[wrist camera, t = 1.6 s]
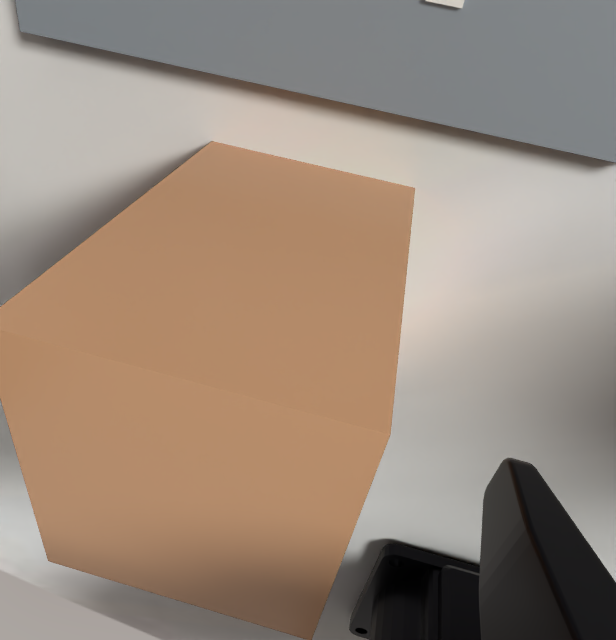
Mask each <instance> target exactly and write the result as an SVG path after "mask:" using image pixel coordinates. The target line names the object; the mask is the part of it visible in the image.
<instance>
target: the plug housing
mask: <svg viewBox="0 0 616 640" xmlns="http://www.w3.org/2000/svg"><path fill="white" fill-rule="evenodd" d="M414 194H415V188H413V187H408V186H404V185H400V184H395V183H391V182H387V181H382V180H378V179H374V178H369V177H365V176H361V175H356V174H352V173H348V172H343V171H339V170H335V169H330V168H326V167H322V166H317V165H313V164H309V163H304V162H300V161H296V160H291V159H287V158H282V157H278V156H274V155H269V154H265V153H261V152H256V151H252V150H248V149H243V148H239V147H235V146H230V145H226V144H222V143H217V142H213V141H211V142H210V143H209V144H208V145H206V146H205V147H204V148H203V149H201V150H200V151H199V152H197V153H196V154H195V155H194V156H192V157H191V158H190V159H188V160H187V161H186V162H185V163H183V164H182V165H181V166H180V167H178V168H177V169H176V170H174V171H173V172H172V173H171V174H169V175H168V176H167V177H166V178H164V179H163V180H162V181H160V182H159V183H158V184H157V185H155V186H154V187H153V188H151V189H150V190H149V191H148V192H146V193H145V194H144V195H143V196H141V197H140V198H139V199H137V200H136V201H135V202H134V203H132V204H131V205H130V206H129V207H127V208H126V209H125V210H123V211H122V212H121V213H120V214H118V215H117V216H116V217H114V218H113V219H112V220H111V221H109V222H108V223H107V224H106V225H104V226H103V227H102V228H100V229H99V230H98V231H97V232H95V233H94V234H93V235H92V236H90V237H89V238H88V239H86V240H85V241H84V242H83V243H81V244H80V245H79V246H77V247H76V248H75V249H74V250H72V251H71V252H70V253H69V254H67V255H66V256H65V257H63V258H62V259H61V260H60V261H58V262H57V263H56V264H55V265H53V266H52V267H51V268H49V269H48V270H47V271H46V272H44V273H43V274H42V275H40V276H39V277H38V278H37V279H35V280H34V281H33V282H32V283H30V284H29V285H28V286H26V287H25V288H24V289H23V290H21V291H20V292H19V293H18V294H16V295H15V296H14V297H12V298H11V299H10V300H9V301H7V302H6V303H5V304H3V305H2V306H1V307H0V399H1V402H2V405H3V409H4V412H5V416H6V419H7V423H8V426H9V429H10V433H11V436H12V440H13V443H14V446H15V450H16V453H17V457H18V460H19V463H20V467H21V470H22V474H23V477H24V480H25V484H26V487H27V491H28V494H29V497H30V501H31V504H32V508H33V511H34V514H35V518H36V521H37V525H38V528H39V531H40V535H41V538H42V542H43V545H44V548H45V552H46V555H47V559H48V561H50V562H53V563H56V564H59V565H63V566H66V567H69V568H73V569H76V570H79V571H83V572H86V573H89V574H92V575H96V576H99V577H102V578H106V579H109V580H112V581H115V582H119V583H122V584H125V585H129V586H132V587H135V588H139V589H142V590H145V591H148V592H152V593H155V594H158V595H162V596H165V597H168V598H172V599H175V600H178V601H181V602H185V603H188V604H191V605H195V606H198V607H201V608H205V609H208V610H211V611H214V612H218V613H221V614H224V615H228V616H231V617H234V618H237V619H241V620H244V621H247V622H251V623H254V624H257V625H261V626H264V627H267V628H270V629H274V630H277V631H280V632H284V633H287V634H290V635H294V636H297V637H300V638H303V639H307V640H312V637H313V635H314V632H315V629H316V627H317V624H318V622H319V619H320V616H321V614H322V611H323V609H324V606H325V603H326V601H327V598H328V596H329V593H330V590H331V588H332V585H333V583H334V580H335V577H336V575H337V572H338V570H339V567H340V564H341V562H342V559H343V557H344V554H345V551H346V549H347V546H348V544H349V541H350V538H351V536H352V533H353V531H354V528H355V525H356V523H357V520H358V518H359V515H360V512H361V510H362V507H363V505H364V502H365V499H366V497H367V494H368V492H369V489H370V486H371V484H372V481H373V479H374V476H375V473H376V471H377V468H378V466H379V463H380V460H381V458H382V455H383V453H384V450H385V447H386V445H387V442H388V439H389V437H390V433H391V423H392V413H393V403H394V393H395V383H396V373H397V364H398V354H399V344H400V334H401V324H402V314H403V304H404V294H405V284H406V274H407V264H408V254H409V244H410V234H411V224H412V214H413V204H414Z"/></svg>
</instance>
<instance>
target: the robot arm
mask: <svg viewBox="0 0 616 640" xmlns="http://www.w3.org/2000/svg"><path fill="white" fill-rule="evenodd" d="M349 630H350V631H351V632H352V633H353V634H355V635H357V636H360V637H363V638H367V639H369V640H616V582H615V581H614V579H613V578H612V576H611V575H610V573H609V572H608V571H607V569H606V568H605V566H604V565H603V563H602V562H601V561H600V559H599V558H598V556H597V555H596V553H595V552H594V551H593V549H592V548H591V546H590V545H589V543H588V542H587V541H586V539H585V538H584V536H583V535H582V533H581V532H580V531H579V529H578V528H577V526H576V525H575V523H574V522H573V521H572V519H571V518H570V516H569V515H568V513H567V512H566V511H565V509H564V508H563V506H562V505H561V503H560V502H559V501H558V499H557V498H556V496H555V495H554V493H553V492H552V491H551V489H550V488H549V486H548V485H547V483H546V482H545V481H544V479H543V478H542V476H541V475H540V473H539V472H538V471H537V469H536V468H535V467H534V466H533V465H532V464H530V463H528V462H524V461H520V460H516V459H513V458H506V459H505V460H503V462H502V463H501V464H500V466H499V468H498V469H497V471H496V473H495V474H494V476H493V478H492V479H491V481H490V483H489V484H488V486H487V488H486V490H485V494H484V500H483V517H482V536H481V555H480V567H477V566H473V565H470V564H466V563H463V562H459V561H456V560H452V559H449V558H445V557H442V556H438V555H435V554H431V553H428V552H424V551H421V550H417V549H414V548H410V547H406V546H403V545H399V544H389V545H386V546H385V547H384V548H383V549H382V551H381V553H380V556H379V558H378V560H377V562H376V564H375V566H374V568H373V571H372V573H371V575H370V577H369V579H368V581H367V583H366V586H365V588H364V590H363V592H362V594H361V596H360V599H359V601H358V603H357V605H356V607H355V609H354V611H353V614H352V616H351V619H350V627H349Z"/></svg>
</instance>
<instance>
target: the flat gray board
mask: <svg viewBox="0 0 616 640" xmlns="http://www.w3.org/2000/svg"><path fill="white" fill-rule="evenodd" d="M15 3H16V9H17V15H18V21H19V28H20V31H21V32H25V33H30V34H35V35H39V36H44V37H48V38H53V39H57V40H62V41H66V42H71V43H75V44H80V45H84V46H89V47H93V48H98V49H103V50H107V51H112V52H116V53H121V54H125V55H130V56H134V57H139V58H143V59H148V60H152V61H157V62H162V63H166V64H171V65H175V66H180V67H184V68H189V69H193V70H198V71H202V72H207V73H211V74H216V75H220V76H225V77H230V78H234V79H239V80H243V81H248V82H252V83H257V84H261V85H266V86H270V87H275V88H279V89H284V90H289V91H293V92H298V93H302V94H307V95H311V96H316V97H320V98H325V99H329V100H334V101H338V102H343V103H347V104H352V105H357V106H361V107H366V108H370V109H375V110H379V111H384V112H388V113H393V114H397V115H402V116H406V117H411V118H416V119H420V120H425V121H429V122H434V123H438V124H443V125H447V126H452V127H456V128H461V129H465V130H470V131H474V132H479V133H484V134H488V135H493V136H497V137H502V138H506V139H511V140H515V141H520V142H524V143H529V144H533V145H538V146H542V147H547V148H552V149H556V150H561V151H565V152H570V153H574V154H579V155H583V156H588V157H592V158H597V159H601V160H606V161H611V162H615V163H616V0H15Z"/></svg>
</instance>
